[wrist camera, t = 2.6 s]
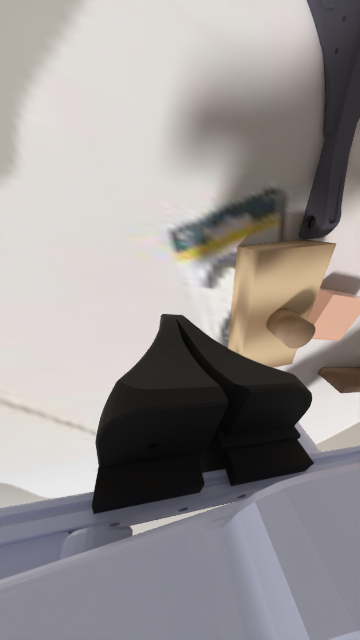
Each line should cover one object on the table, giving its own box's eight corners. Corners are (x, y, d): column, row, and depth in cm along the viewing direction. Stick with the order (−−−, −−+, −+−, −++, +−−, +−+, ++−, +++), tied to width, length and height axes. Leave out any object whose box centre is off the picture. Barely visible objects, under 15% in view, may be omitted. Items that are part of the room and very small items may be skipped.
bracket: (223, 243, 15) (239, 248, 12) (251, -149, 7) (306, -340, 5) (364, 231, 16) (401, 232, 14) (506, -89, 9) (638, -203, 6)
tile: (320, 329, 22) (339, 340, 19) (288, 326, 20) (305, 338, 18) (345, 292, 19) (370, 300, 17) (311, 286, 18) (333, 294, 16)
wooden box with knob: (271, 344, 21) (310, 381, 16) (225, 352, 21) (252, 394, 16) (298, 239, 15) (375, 247, 10) (235, 245, 14) (283, 258, 9)
